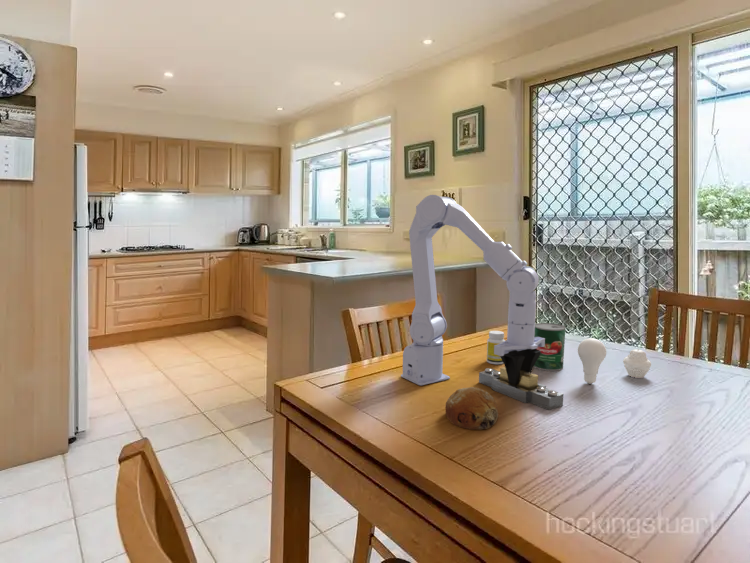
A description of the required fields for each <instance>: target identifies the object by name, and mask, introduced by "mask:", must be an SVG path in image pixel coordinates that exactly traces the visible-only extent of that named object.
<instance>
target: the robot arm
mask: <svg viewBox="0 0 750 563" xmlns="http://www.w3.org/2000/svg"><path fill="white" fill-rule="evenodd" d="M445 225H446V226H450V227H454V228H458V230H460V231H461V232H462V233H463V234H464V235H465V236H466V237H467V238H468V239H469V240H470V241H472V242H473V244H475V245H476V246H477V247H478V248H479V249H480V250H481V251H482V252H483V260H484V262H485V263H486V264H487V265H488V266H489V267H490V268H491V269H492V270H493V271H494V272H495V273H496V274H497V275H498V276H499V277H500V278H501V279H502V280H503V281H505V282H506V288H507V290H508V291H509V299H508V300H509V301H508V310H507V311H508V312H507V330H506V331H507V335H506V340H505V341H504V342H502V343H500V344H498V345H494V354H496V355H499V356H500V357H501V359H502V361H503V365H504V367H505V368H506V372H507V376H508V381H509V383H512V384H514V385H517V384H518V382H519V376H520V370H523V371H526V372H530V373H532V372H533V369H534V368H535V367H534V365H535V363H536V361H537V359H538V358H539V356H540V355H541V351H540V350H536V349H537V348H538V347H539V346H540V347H544V346H545V338H541V337H534V334H535V324H536V316H537V315H536V312H537V310H536V309H537V302H536V299H537V293H536V292H537V291H536V289H537V287H538V285H539V281H540V279H539V278H540V277H539V275H538V273H537V272H536V269H535V268H533V267H531V266H528V262H527V261H526V260H522V259H521V258H520V257H519V256H518V255H517V254H516V253H514V251H513V250H512V249H513V246H512V245H511V244H510V243H506V244H505V242H504V241H495V240H494V239H492V237H491V236H490V235H489V233H487V232H486V231H485V229H484V228H482V227H481V225H480V224H479V223H478V222H477V221H476V220H475V218H473V217H472V215H470V213H469V212H468V211H467V210H466V209H465V208H464V207H463V206H462V205H460V204H459V203H457V202H456V201H455V200H454V199H453V198H452V197H449V196H441V195H437V194H429V195H427V196H425V197H424V198H423V199H422V200H421V201H420V202H419V203H417V205H416V207H415V214H414V216H413V220H412V222H411V224H410V228H409V229H408V235H409V238H408V239H409V245H410V246H409V247H410V257H411V267H412V268H411V269H412V276H413V277H412V279H413V289H414V300H415V301H414V302H415V306H414V308H413V310H412V312H411V323H410V326H409V335H410V338H411V339H412V341H413V342H412V343H411V344H409V345H406V346H405V347H404V349H403V352H402V374H400V377H401V378H404V379H406V380H407V381H410V382H411V383H413V384H416V385H418V386H424V385H428V384H433V383H438V382H441V381H442V382H443V381H446V380H449V379H451V376H449V375H447V374H445V373H443V369H444V368H443V364H444V363H443V362H444V360H443V359H444V338H443V335H445V332H446V331H447V328H448V323H447V320H446V318H445V317H444V314H443V310H442V306H441V305H440V303H439V302H438V301H439V300H438V292H437V279H436V271H435V261H434V260H435V259H434V248H433V236H435V234H437V232H438V231H439V230H440V229H441V228H442V227H444V226H445Z"/></svg>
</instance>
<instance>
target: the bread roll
mask: <svg viewBox="0 0 750 563" xmlns="http://www.w3.org/2000/svg"><path fill="white" fill-rule="evenodd" d="M498 408H499V407H498V404H497V402H496V400H495V398H494V397H493V396H492V395H491V393H489V392H488V391H486V390H484V389H482V388H479V387H474V386H473V387H472V386H471V387H463V388H458V389H456V391H455V392H453V393H452V394H451V395H450V396H449V397H448V399H447V401H446V403H445V416H446V419H447V420H449V421H450V423H452V425H454V426H456V427H459V428H462V429H467V430H474V431H477V430H487V429H489V428H492V427H493V426H494V425H495V424H496V422H497V421H498V418H499V412H498V411H499V409H498Z"/></svg>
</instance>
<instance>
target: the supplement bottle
mask: <svg viewBox="0 0 750 563" xmlns="http://www.w3.org/2000/svg"><path fill="white" fill-rule="evenodd" d="M504 341H506V340H505V333H504V331H500V330H490V331H489V332H488V338H487V340H486V342H487V344H486V362H487V363H488V364H491V365H504V363H503V361H502V359H501V357H500V356H499V355H496V354H494V345H498V344H500V343H502V342H504Z"/></svg>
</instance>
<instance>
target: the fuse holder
mask: <svg viewBox="0 0 750 563" xmlns="http://www.w3.org/2000/svg"><path fill="white" fill-rule="evenodd" d="M478 374H479V375H478V383H480V384H482V385H484V386H487V387H489V388H491V390H492V391H495V392H497V393H499V394H502V395H504V396H507V397H509V398H512V399H514V400H516V401H519V402H522V403H524V404H527V403H530V404H532V405H535V406H537V407H540V408H543V409H545V410H547V411H551V410H554V409H557V408H559V407H562V406H564V393H562V392H559V391H557V390H554V389H550V388H548V387H547V385H545V384H542V383H539V382H538V387H537V389H534V390H531V391H528V390H525V389H523V388H520V387H517V386H515V385H512V384H509V383H507V382H504V381H501V380H500V371H499V370H496V369H495V368H494V369H493V368H491V367H490V368H489V367H488V368H485V369H484V370H483V371H480V372H478Z"/></svg>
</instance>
